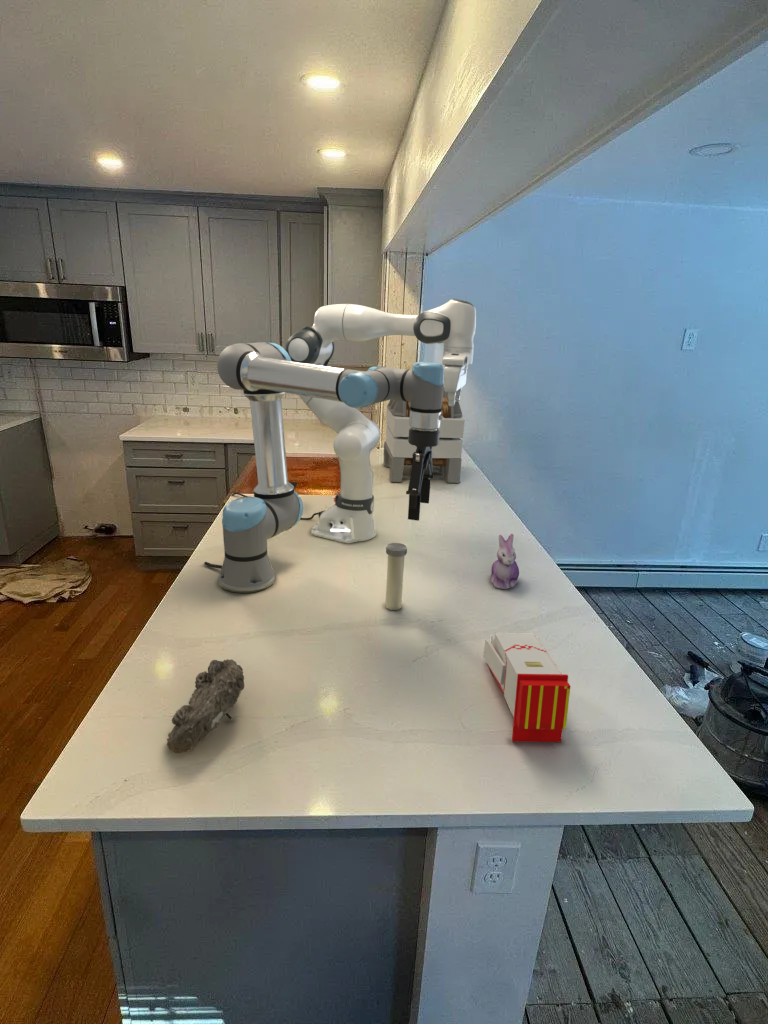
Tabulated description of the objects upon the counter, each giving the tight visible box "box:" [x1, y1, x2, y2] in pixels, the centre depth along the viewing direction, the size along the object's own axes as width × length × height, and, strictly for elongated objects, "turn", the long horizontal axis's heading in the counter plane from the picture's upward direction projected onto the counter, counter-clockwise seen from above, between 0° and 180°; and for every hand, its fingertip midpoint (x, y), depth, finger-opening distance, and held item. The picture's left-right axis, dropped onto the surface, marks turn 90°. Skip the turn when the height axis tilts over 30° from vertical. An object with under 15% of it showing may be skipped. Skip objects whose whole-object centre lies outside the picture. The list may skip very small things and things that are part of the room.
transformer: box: [383, 387, 465, 484], centre depth 268 cm, size 34×33×41 cm
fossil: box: [166, 658, 245, 754], centre depth 106 cm, size 22×10×15 cm
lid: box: [385, 542, 408, 557], centre depth 146 cm, size 5×5×2 cm
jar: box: [385, 554, 405, 611], centre depth 148 cm, size 4×4×17 cm
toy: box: [482, 632, 571, 743], centre depth 116 cm, size 12×13×30 cm
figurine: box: [490, 533, 520, 590], centre depth 164 cm, size 9×10×15 cm
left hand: (418, 510), depth 144 cm, fingers open, 13 cm apart
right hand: (454, 403), depth 174 cm, fingers open, 8 cm apart
